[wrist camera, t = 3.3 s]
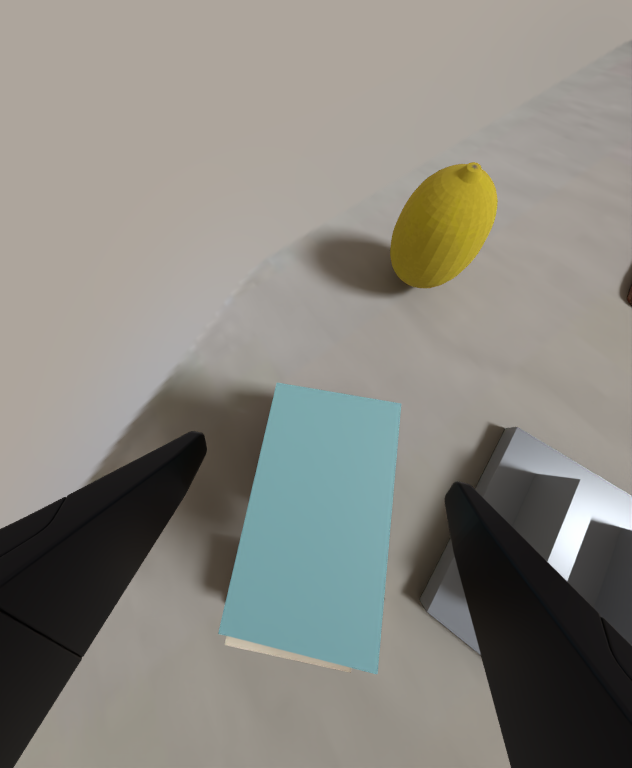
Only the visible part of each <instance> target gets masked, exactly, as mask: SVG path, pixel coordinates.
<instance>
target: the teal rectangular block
mask: <svg viewBox="0 0 632 768" xmlns="http://www.w3.org/2000/svg"><path fill="white" fill-rule="evenodd" d="M400 412H401V404H400V403H394V402H388V401H383V400H377V399H371V398H365V397H359V396H353V395H347V394H341V393H335V392H329V391H324V390H318V389H312V388H306V387H300V386H294V385H288V384H282V383H277V384H276V388H275V392H274V397H273V401H272V405H271V410H270V414H269V418H268V422H267V427H266V431H265V435H264V440H263V444H262V448H261V452H260V457H259V461H258V465H257V470H256V474H255V478H254V483H253V487H252V491H251V495H250V500H249V504H248V508H247V513H246V517H245V521H244V525H243V530H242V534H241V538H240V543H239V547H238V551H237V556H236V560H235V564H234V568H233V573H232V577H231V581H230V586H229V590H228V594H227V598H226V603H225V607H224V611H223V616H222V620H221V624H220V629H219V633H218V634H222V635H225V636H229V637H233V638H237V639H241V640H245V641H249V642H253V643H257V644H261V645H264V646H268V647H272V648H276V649H280V650H284V651H288V652H292V653H296V654H299V655H303V656H307V657H311V658H315V659H319V660H323V661H327V662H331V663H335V664H338V665H342V666H346V667H350V668H354V669H358V670H362V671H366V672H370V673H373V674H377V673H378V662H379V650H380V639H381V628H382V616H383V605H384V594H385V582H386V571H387V560H388V548H389V537H390V525H391V514H392V503H393V491H394V480H395V469H396V457H397V446H398V435H399V423H400Z"/></svg>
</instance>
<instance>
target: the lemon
mask: <svg viewBox="0 0 632 768" xmlns="http://www.w3.org/2000/svg"><path fill="white" fill-rule="evenodd" d="M497 202H498V201H497V194H496V188H495V186H494V183H493V181H492V180H491V178H490V177H489V175H488V174H487V173H486V172H485V171H484V170H482V169H481V166H480V165H479V164H478V163H475V162H472V163H469V164H458V165H453V166H449V167H446V168H444V169H441V170H439V171H438V172H436V173H434V174H433V175H431V176H430V177H428V178H427V179H426V180H425V181H423V182H422V183H421V185H420V186H419V187H418V188H417V189H416V190H415V191H414V193H413V194H412V195H411V197H410V198H409V200H408V201H407V203H406V204H405V206H404V208H403V210H402V212H401V214H400V216H399V218H398V220H397V223H396V225H395V228H394V231H393V235H392V240H391V248H390V256H391V262H392V266H393V269H394V271H395V273H396V274H397V276H398V277H399V278H400V279H401V280H402V281H403V282H405V283H406V284H408V285H410V286H413V287H417V288H432V287H436V286H439V285H442V284H444V283H446V282H447V281H449V280H451V279H453V278H454V277H456V276H457V275H458V274H459V273H460V272H461V271H463V270H464V269H465V268H466V267H467V266H468V265H469V264H470V263H471V262H472V260H473V259H474V258H475V257H476V255H477V254H478V252H479V251H480V249H481V247H482V246H483V244H484V242H485V240H486V238H487V236H488V235H489V232H490V230H491V228H492V226H493V223H494V220H495V216H496V210H497Z"/></svg>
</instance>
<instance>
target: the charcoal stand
mask: <svg viewBox="0 0 632 768" xmlns="http://www.w3.org/2000/svg"><path fill="white" fill-rule="evenodd" d="M475 490H476V491H477V492H478V493H479V494H480V495H481V496H482V497H483V498H484V499H485V500H486V501H487V502H488V503H489V504H490V505H491V506H492V507H493V508H494V509H495V510H496V511H497V512H498V513H499V514H500V515H501V516H502V517H503V518H504V519H505V520H506V521H507V522H508V523H509V524H510V525H511V526H512V527H513V528H514V529H515V530H516V531H517V532H518V533H519V534H520V535H521V536H522V537H523V538H524V539H525V540H526V541H527V542H528V543H529V544H530V545H531V546H532V547H533V548H534V549H535V550H536V551H537V552H538V553H539V554H540V555H541V556H542V557H543V558H544V559H545V560H546V561H547V562H548V563H549V564H550V565H551V566H552V567H553V568H554V569H555V570H556V571H557V572H558V573H559V574H560V575H561V576H562V577H563V578H564V579H565V580H566V581H567V582H568V583H569V584H570V585H571V586H572V587H573V588H574V589H575V590H576V591H577V592H578V593H579V594H580V595H581V596H582V597H583V598H584V599H585V600H586V601H587V602H588V603H589V604H590V605H591V606H592V607H593V608H594V609H595V610H596V611H597V612H598V613H599V614H600V616H602V617H603V618H605V619H606V620H607V621H608V622H609V623H610V624H611V625H612V626H613V627H614V628H615V629H616V630H617V631H618V632H619V633H620V634H621V635H622V636H623V637H624V638H625V639H626V640H627V641H628V642H629V643H630V644H631V645H632V496H631V495H629V494H628V493H626V492H624V491H623V490H621V489H619V488H618V487H616V486H614V485H613V484H611V483H610V482H608V481H606V480H605V479H603V478H601V477H600V476H598V475H596V474H595V473H593V472H591V471H590V470H588V469H586V468H585V467H583V466H581V465H580V464H578V463H576V462H575V461H573V460H571V459H570V458H568V457H566V456H565V455H563V454H562V453H560V452H558V451H557V450H555V449H553V448H552V447H550V446H548V445H547V444H545V443H543V442H542V441H540V440H538V439H537V438H535V437H533V436H532V435H530V434H528V433H527V432H525V431H523V430H522V429H520V428H518V427H512V428H505V430H504V432H503V434H502V436H501V438H500V440H499V442H498V444H497V446H496V448H495V450H494V452H493V454H492V456H491V458H490V460H489V462H488V464H487V466H486V468H485V470H484V472H483V474H482V476H481V478H480V480H479V482H478V484H477V486H476V488H475ZM420 601H421V603H422V605H423V606H424V608H425V609H426V611H427V612H428V613H429V614H430V615H432V616H433V617H434V618H435V619H437V620H438V621H439V622H440V623H441V624H443V625H444V626H445V627H446V628H448V629H449V630H450V631H451V632H453V633H454V634H455V635H456V636H458V637H459V638H460V639H461V640H463V641H464V642H465V643H466V644H468V645H469V646H470V647H471V648H473V649H474V650H475V651H476V652H478V653H479V654H480V650H479V646H478V642H477V639H476V635H475V631H474V628H473V624H472V620H471V616H470V613H469V609H468V605H467V601H466V598H465V594H464V590H463V587H462V583H461V579H460V575H459V572H458V568H457V564H456V560H455V557H454V552H453V548H452V543H451V538H450V540H449V542H448V544H447V546H446V548H445V550H444V552H443V554H442V556H441V558H440V560H439V562H438V564H437V566H436V568H435V570H434V572H433V574H432V576H431V578H430V580H429V582H428V584H427V586H426V588H425V590H424V592H423V594H422V596H421V598H420ZM480 655H481V654H480Z"/></svg>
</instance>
